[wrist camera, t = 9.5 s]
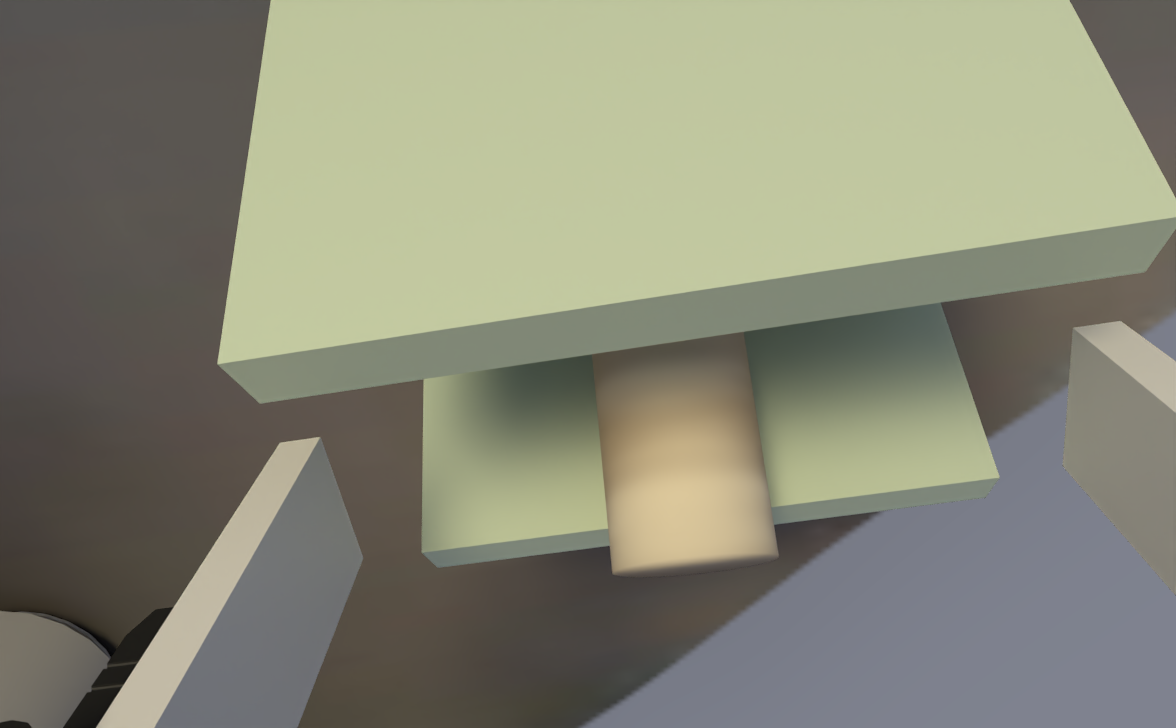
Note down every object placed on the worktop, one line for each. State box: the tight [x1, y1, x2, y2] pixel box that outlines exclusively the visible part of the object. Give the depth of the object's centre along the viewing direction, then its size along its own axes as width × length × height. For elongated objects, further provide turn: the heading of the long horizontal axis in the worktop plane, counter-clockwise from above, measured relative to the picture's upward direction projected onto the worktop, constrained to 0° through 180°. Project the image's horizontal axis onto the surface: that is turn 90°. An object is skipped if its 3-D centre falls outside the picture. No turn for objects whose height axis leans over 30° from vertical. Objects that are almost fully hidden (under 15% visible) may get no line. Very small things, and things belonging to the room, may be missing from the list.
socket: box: [218, 0, 1176, 568], centre depth 18 cm, size 16×14×16 cm
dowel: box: [592, 332, 779, 577], centre depth 19 cm, size 3×3×12 cm
